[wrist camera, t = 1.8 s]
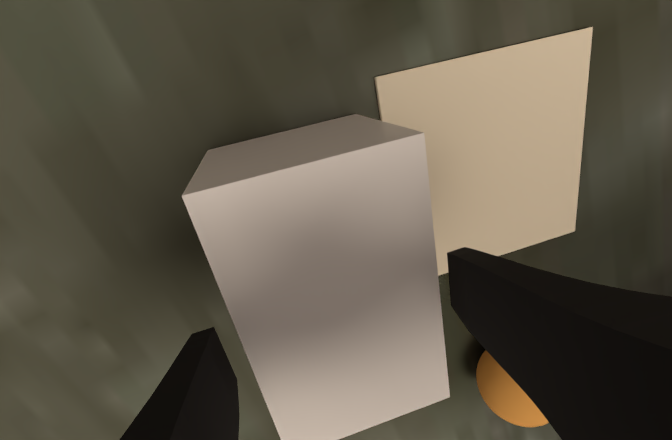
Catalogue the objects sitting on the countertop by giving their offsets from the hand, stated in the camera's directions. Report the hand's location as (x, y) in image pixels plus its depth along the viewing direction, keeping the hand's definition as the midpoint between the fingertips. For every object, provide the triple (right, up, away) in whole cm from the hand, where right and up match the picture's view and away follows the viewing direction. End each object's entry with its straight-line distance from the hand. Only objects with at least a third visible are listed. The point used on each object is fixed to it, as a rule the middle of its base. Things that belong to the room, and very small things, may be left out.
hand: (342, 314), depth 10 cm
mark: (+7, +5, +6) cm, 11 cm away
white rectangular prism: (-1, +2, +5) cm, 6 cm away
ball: (+10, -6, +9) cm, 15 cm away
